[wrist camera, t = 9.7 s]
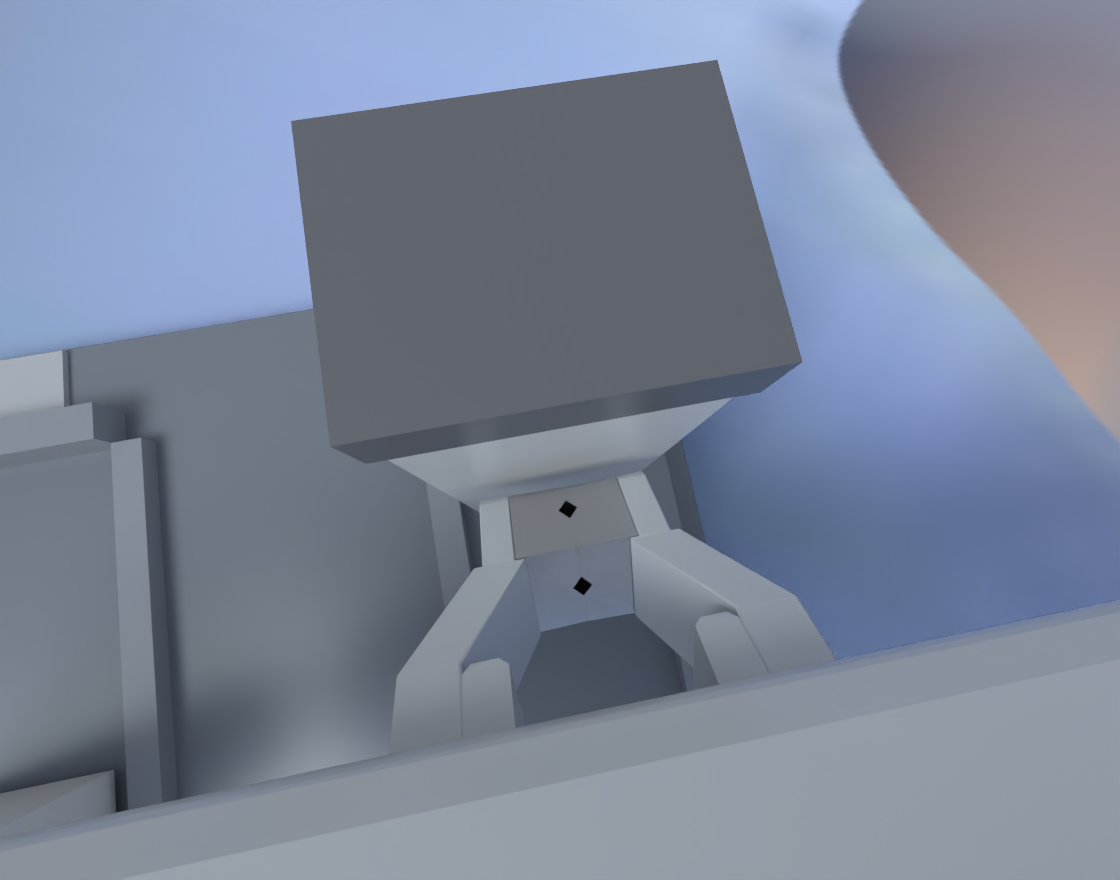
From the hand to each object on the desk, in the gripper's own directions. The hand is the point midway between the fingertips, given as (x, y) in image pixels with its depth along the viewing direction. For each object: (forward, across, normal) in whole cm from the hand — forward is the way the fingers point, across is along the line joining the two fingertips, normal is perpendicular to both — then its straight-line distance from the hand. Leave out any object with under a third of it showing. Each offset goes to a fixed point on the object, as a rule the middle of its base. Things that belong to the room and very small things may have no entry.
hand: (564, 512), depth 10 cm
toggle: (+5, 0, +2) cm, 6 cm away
